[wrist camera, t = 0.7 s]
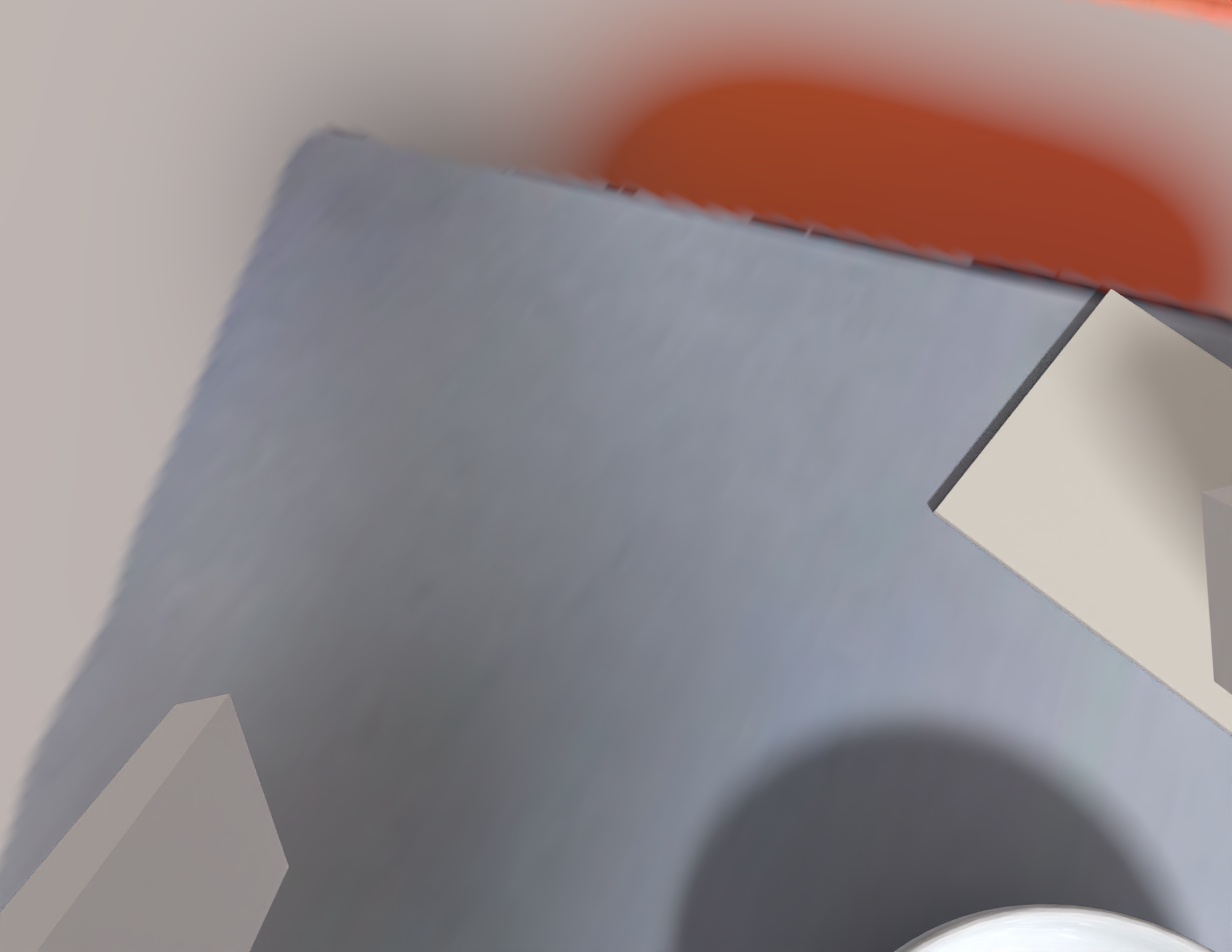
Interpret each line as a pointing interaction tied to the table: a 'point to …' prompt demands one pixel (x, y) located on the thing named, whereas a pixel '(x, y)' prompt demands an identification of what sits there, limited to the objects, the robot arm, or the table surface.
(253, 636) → the table surface
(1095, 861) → the table surface
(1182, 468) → the mat
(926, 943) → the serving bowl
